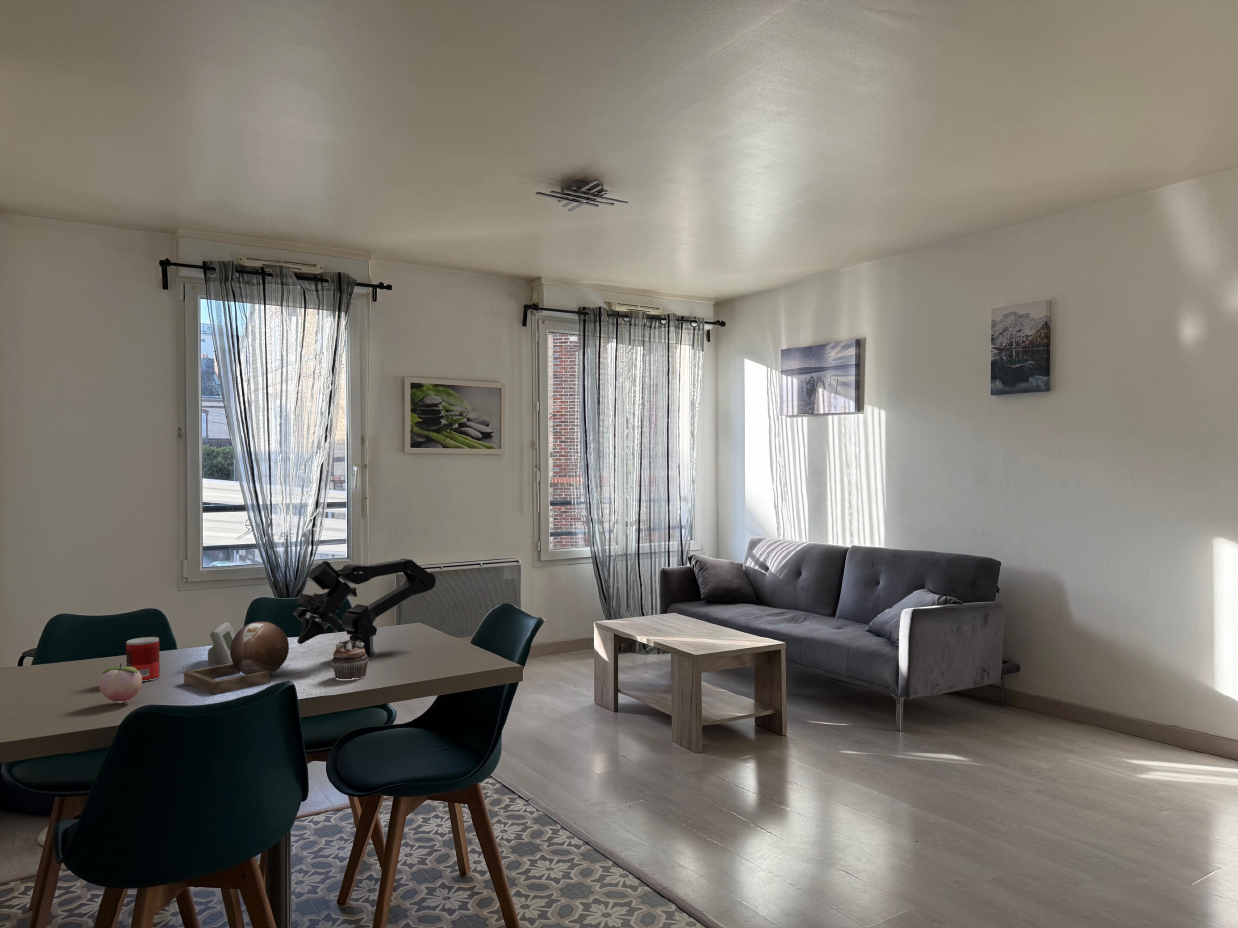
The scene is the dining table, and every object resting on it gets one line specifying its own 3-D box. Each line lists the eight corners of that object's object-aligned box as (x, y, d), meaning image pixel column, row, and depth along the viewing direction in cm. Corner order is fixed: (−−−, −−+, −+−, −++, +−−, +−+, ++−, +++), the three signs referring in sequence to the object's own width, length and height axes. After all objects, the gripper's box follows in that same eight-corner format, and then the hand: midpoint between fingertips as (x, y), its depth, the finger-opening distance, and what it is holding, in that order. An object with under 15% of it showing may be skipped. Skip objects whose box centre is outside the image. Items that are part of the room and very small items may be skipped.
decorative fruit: (150, 698, 217) (149, 658, 217) (132, 707, 208) (131, 666, 208) (112, 699, 216) (111, 659, 216) (93, 708, 208) (92, 667, 208)
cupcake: (324, 680, 231) (323, 643, 231) (348, 672, 240) (347, 636, 240) (353, 683, 227) (352, 645, 227) (376, 674, 236) (375, 638, 236)
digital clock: (228, 667, 250) (227, 630, 250) (197, 667, 250) (196, 631, 250) (251, 654, 266) (250, 620, 266) (222, 655, 266) (221, 621, 266)
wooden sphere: (224, 684, 229) (223, 628, 229) (237, 671, 243) (236, 618, 243) (284, 680, 232) (283, 625, 232) (293, 668, 246) (292, 615, 246)
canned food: (166, 676, 239) (165, 637, 239) (141, 684, 232) (140, 643, 232) (145, 675, 242) (144, 636, 242) (120, 682, 234) (119, 641, 234)
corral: (237, 672, 242) (237, 661, 242) (269, 682, 230) (269, 671, 230) (184, 683, 232) (183, 671, 232) (214, 694, 219) (214, 682, 219)
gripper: (298, 580, 256) (263, 622, 248) (331, 585, 244) (295, 630, 236) (323, 603, 262) (290, 645, 254) (357, 608, 250) (322, 653, 241)
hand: (298, 643), depth 246 cm, fingers closed
